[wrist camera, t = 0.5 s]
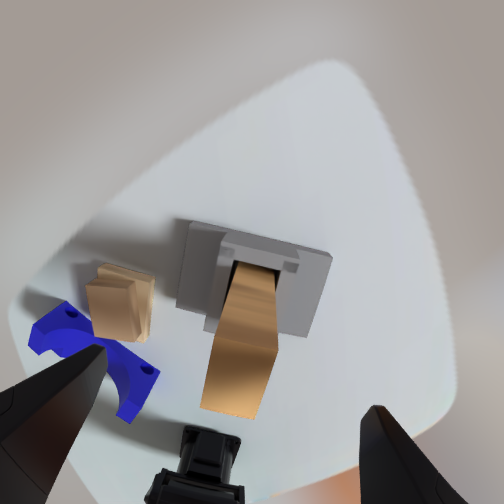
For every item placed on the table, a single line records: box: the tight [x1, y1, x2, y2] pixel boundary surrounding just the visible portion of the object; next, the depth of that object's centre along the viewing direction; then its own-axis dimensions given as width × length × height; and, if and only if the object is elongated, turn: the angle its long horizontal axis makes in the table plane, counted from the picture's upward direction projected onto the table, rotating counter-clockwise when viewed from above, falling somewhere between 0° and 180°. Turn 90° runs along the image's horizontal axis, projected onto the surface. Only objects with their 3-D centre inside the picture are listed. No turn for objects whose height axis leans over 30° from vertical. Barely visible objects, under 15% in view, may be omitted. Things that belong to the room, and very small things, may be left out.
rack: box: [176, 221, 333, 338], centre depth 23 cm, size 7×11×4 cm, turn 77°
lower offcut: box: [97, 263, 156, 343], centre depth 26 cm, size 6×5×2 cm
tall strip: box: [200, 261, 278, 420], centre depth 18 cm, size 4×2×12 cm, turn 167°
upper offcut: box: [85, 279, 142, 342], centre depth 24 cm, size 5×4×2 cm
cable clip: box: [28, 301, 161, 424], centre depth 25 cm, size 12×4×6 cm, turn 55°
